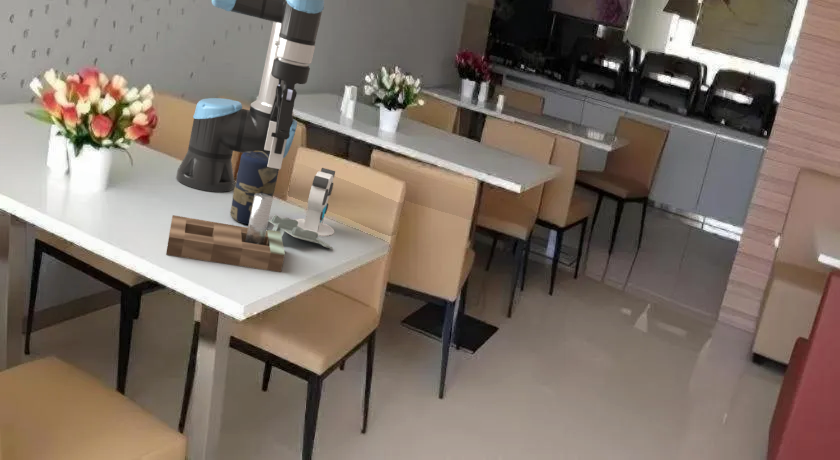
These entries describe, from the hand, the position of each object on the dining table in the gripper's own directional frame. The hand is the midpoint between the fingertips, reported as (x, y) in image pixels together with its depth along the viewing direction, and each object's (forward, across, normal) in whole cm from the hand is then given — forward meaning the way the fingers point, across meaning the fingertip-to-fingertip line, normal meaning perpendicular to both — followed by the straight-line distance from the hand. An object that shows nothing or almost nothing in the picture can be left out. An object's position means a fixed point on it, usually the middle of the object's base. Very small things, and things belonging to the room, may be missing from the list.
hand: (272, 159), depth 176 cm
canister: (+23, -23, 0) cm, 33 cm away
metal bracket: (+23, -14, +10) cm, 29 cm away
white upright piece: (+23, -26, +16) cm, 39 cm away
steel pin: (+22, 0, 0) cm, 23 cm away
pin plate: (+22, 0, -6) cm, 23 cm away
